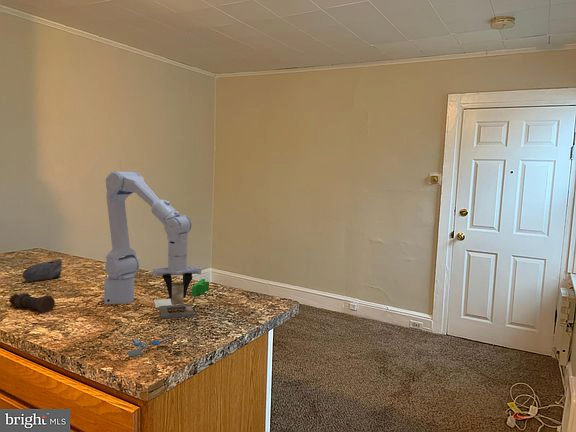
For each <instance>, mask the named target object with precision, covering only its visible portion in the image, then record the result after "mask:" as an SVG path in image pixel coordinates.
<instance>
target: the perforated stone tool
mask: <svg viewBox="0 0 576 432" xmlns="http://www.w3.org/2000/svg"><path fill="white" fill-rule="evenodd" d="M62 265H63V263H62V261H61V259H59V260H51V261H45V262H40V263H37V264H34V265H31V266H29V267H27V268H26V269H25V270H24V271H23V272H22V279H24V281H28V282H37V281H38V282H39V281H40V282H41V281H47V280H52V279H54V278H55V279H56V278H59V277H60V276H61V274H62V273H61V272H62Z"/></svg>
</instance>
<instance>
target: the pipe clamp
mask: <svg viewBox="0 0 576 432" xmlns="http://www.w3.org/2000/svg"><path fill="white" fill-rule="evenodd" d="M209 291H210V281H207V280H206V278H201V279H200V280H198V281H197V282H196V283H194V284H193V285H192V286H191V297H196V296H197V295H206V292H209Z"/></svg>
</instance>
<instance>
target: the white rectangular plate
mask: <svg viewBox="0 0 576 432" xmlns="http://www.w3.org/2000/svg"><path fill="white" fill-rule="evenodd" d="M153 302H154V306H155V309H156V308H159V306H167V305H172V304H171V299H169V298H168V299H154V300H153Z"/></svg>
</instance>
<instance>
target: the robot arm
mask: <svg viewBox="0 0 576 432" xmlns="http://www.w3.org/2000/svg"><path fill="white" fill-rule="evenodd" d="M105 185H106V186H105V188H106V205H107V214H108V222H109V223H108V224H109V231H110V239H111V240H110V241H111V250H110V251H109V252H108V253H107V255H106V258H105V259H106V262H105V266H104V268H105V272H106V273H105V274H106V275H107V276H108V277H104V282H103V283H104V285H103V289H104V294H103V297H102V298H103V303H104V305H116V304H117V305H123V304H130V303H133V302H134V301H135V276H136V273H137V272H138V271H139V269H140V262H139V259H138V256H137V252H136V251H135V250H134V249H133V248H132V247H131V245H130V235H129V229H128V220H127V219H128V218H127V217H128V216H127V209H126V200H127V199H128V198H129V196H131V195H132V194H134V193H135V194H136V195H137V196H139V198H141V199H142V200H143V201H144V202H145V203H147V205H149V206H150V207H151V213H152V214H153V216H155V218H157V219H158V220H159V222H161V223H162V224H163V228H164V231H165V233H166V235H167V236H166V237H167V241H168V243H167V244H168V246H167V247H168V249H167V251H168V252H167V253H168V254H167V267H161V268H153V269H152V276H153V277H159V276H161V277H162V278H163V281H164V283H165V285H166V289H167V293H168V299H172V289H171V288H172V283H173V278H172V276H181V275H182V283H183V285H184V294H183V299H186V295H187V291H188V289H189V286H190V283H191V282H192V280H193V275H202V267H201V266H188V239H189V238H188V234H189V233H190V232H191V230H192V221H191V219H190V218H189V217H188V215H183V214H181V213H180V211H177V210H176V209H175V208H174V207H173V206H172V205H171V202H170V201H169V200H166V199H161V198H159V197H158V196H157V195H156V194H155V192H154V191H153V190H152V189H151V188H150V187H149V185H148V184H147V183H146V182H145V178H144V176H142V175H141V173H140V172H138V171H117V170H113V171H111V172H110V173H108V175H107V176H106V178H105Z"/></svg>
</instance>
